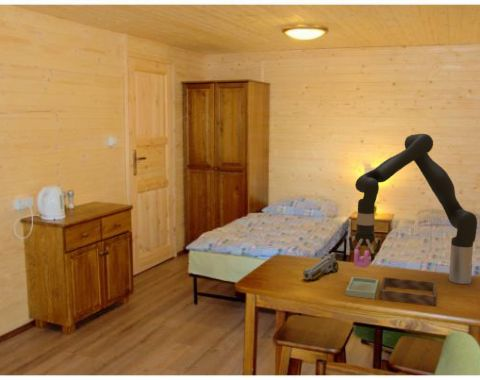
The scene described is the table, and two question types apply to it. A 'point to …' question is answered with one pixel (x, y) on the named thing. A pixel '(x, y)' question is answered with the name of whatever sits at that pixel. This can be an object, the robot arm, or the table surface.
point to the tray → (362, 287)
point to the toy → (322, 267)
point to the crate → (406, 296)
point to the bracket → (362, 259)
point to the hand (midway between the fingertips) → (364, 260)
